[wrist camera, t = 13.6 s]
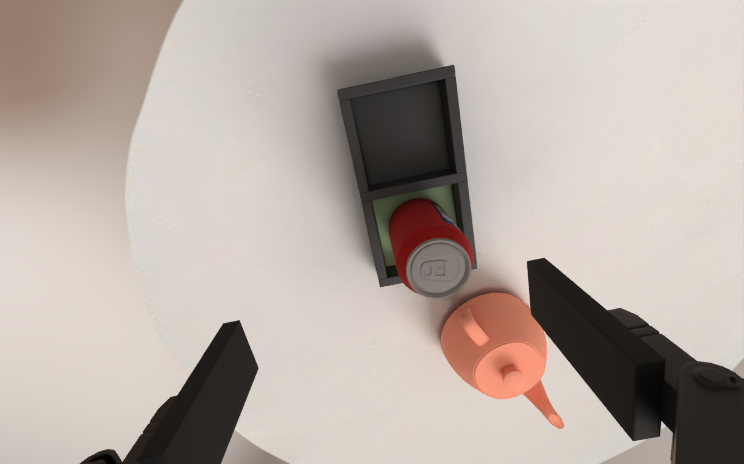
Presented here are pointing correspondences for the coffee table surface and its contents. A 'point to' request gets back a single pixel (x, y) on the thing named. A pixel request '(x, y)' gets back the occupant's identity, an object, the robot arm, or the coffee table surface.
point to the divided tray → (407, 153)
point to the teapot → (499, 349)
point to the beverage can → (429, 249)
